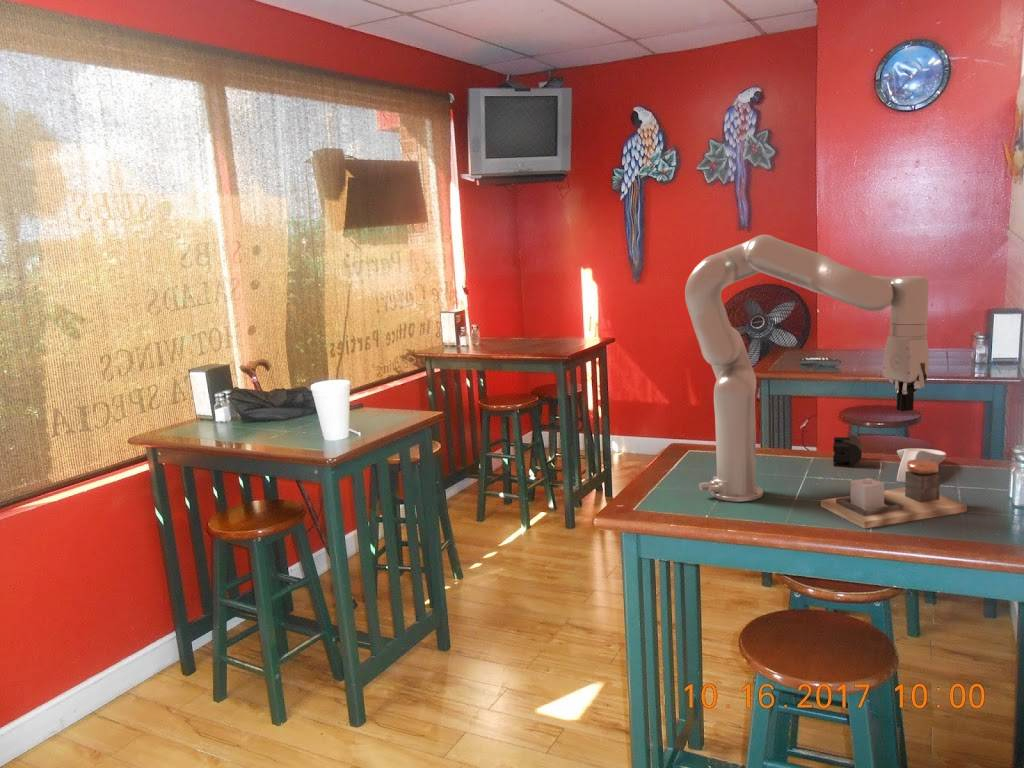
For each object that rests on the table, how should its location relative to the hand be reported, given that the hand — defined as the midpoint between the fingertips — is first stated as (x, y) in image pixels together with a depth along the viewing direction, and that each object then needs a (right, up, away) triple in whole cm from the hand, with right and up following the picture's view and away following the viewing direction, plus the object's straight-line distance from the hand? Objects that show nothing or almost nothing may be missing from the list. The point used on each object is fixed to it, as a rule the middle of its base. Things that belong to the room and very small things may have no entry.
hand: (904, 409), depth 187 cm
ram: (+4, -19, 0) cm, 20 cm away
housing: (-10, -22, -2) cm, 24 cm away
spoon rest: (+15, -17, +25) cm, 34 cm away
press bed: (-4, -23, -1) cm, 23 cm away
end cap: (+2, -16, +37) cm, 40 cm away
